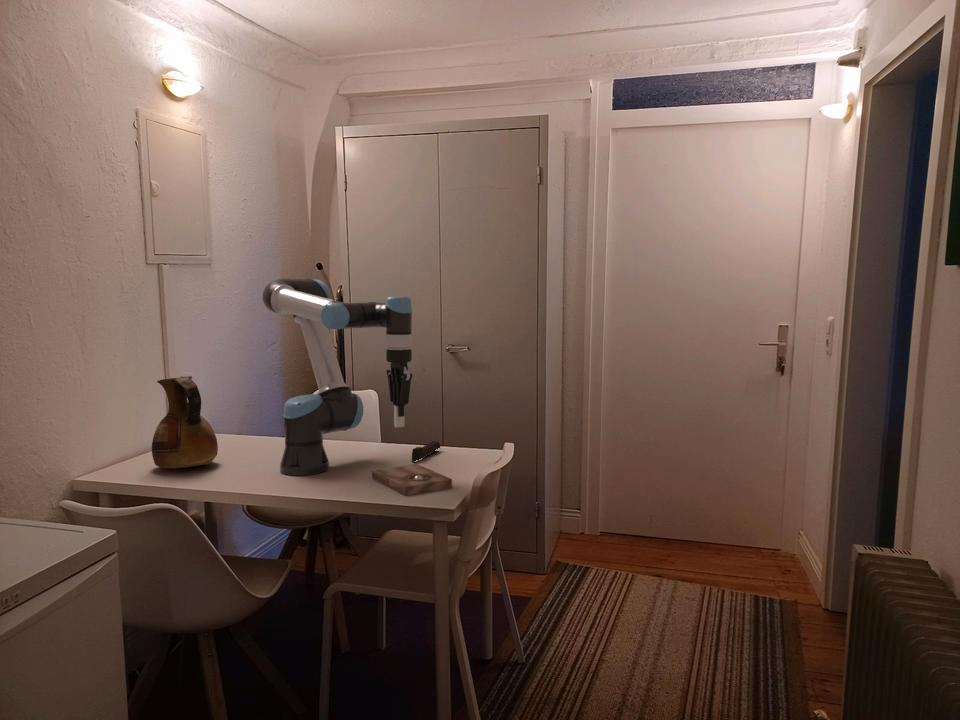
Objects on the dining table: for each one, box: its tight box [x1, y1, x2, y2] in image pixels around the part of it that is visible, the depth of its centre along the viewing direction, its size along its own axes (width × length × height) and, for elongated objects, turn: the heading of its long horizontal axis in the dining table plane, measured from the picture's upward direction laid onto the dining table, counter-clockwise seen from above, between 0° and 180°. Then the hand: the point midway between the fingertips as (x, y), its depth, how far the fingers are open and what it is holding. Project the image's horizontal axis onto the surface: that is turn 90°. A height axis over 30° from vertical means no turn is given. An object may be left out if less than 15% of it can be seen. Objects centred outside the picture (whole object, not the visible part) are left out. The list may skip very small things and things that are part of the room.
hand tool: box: [411, 440, 441, 463], centre depth 238 cm, size 19×4×5 cm, turn 157°
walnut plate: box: [371, 463, 453, 497], centre depth 205 cm, size 15×22×2 cm
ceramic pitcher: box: [151, 375, 219, 469], centre depth 224 cm, size 20×20×30 cm
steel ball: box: [413, 475, 423, 480], centre depth 201 cm, size 3×3×3 cm
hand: (399, 426), depth 209 cm, fingers closed
